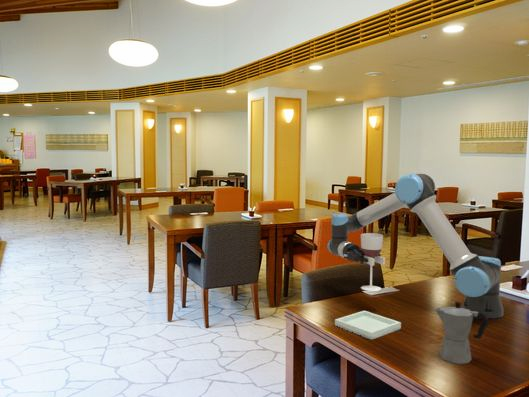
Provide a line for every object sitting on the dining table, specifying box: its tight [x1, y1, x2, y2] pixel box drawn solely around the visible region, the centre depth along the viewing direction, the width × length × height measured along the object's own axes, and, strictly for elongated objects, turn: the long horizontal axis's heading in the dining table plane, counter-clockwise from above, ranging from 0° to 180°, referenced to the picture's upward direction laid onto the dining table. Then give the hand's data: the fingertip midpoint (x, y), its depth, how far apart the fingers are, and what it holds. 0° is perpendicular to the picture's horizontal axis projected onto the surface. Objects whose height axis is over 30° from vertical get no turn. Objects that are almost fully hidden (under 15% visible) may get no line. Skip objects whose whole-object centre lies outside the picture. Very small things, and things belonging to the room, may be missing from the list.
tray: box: [334, 310, 402, 340], centre depth 170 cm, size 17×17×2 cm
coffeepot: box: [434, 301, 490, 365], centre depth 143 cm, size 15×9×18 cm, turn 66°
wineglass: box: [360, 232, 384, 292], centre depth 187 cm, size 9×10×22 cm
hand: (378, 261), depth 182 cm, fingers closed on wineglass, 4 cm apart
